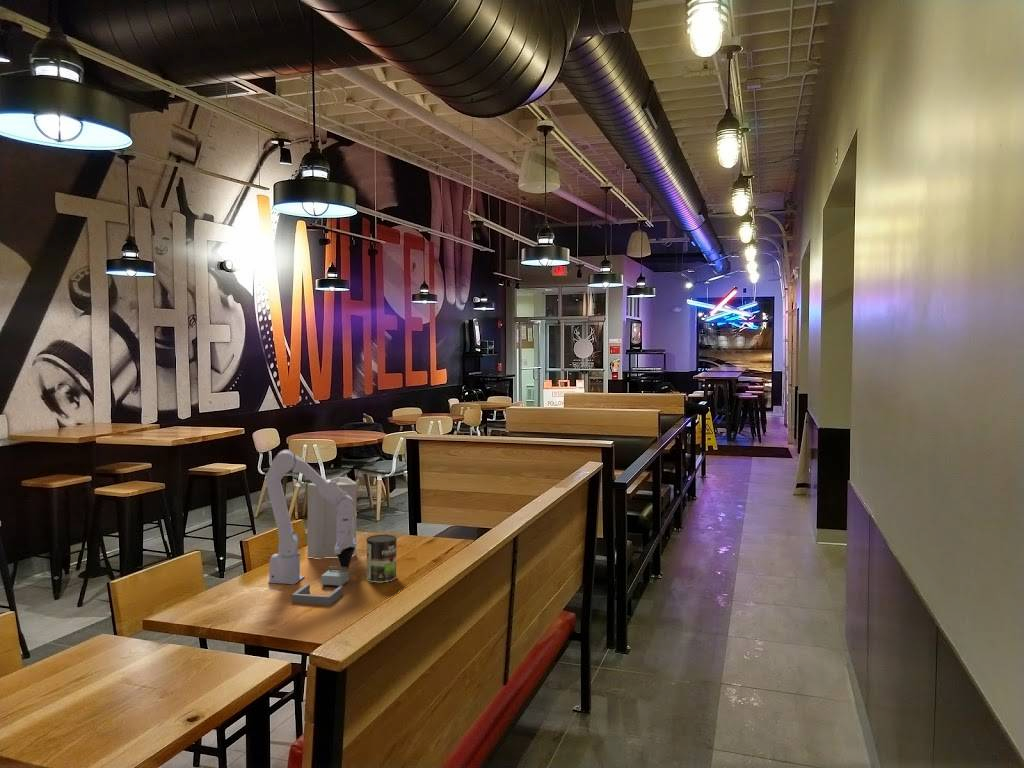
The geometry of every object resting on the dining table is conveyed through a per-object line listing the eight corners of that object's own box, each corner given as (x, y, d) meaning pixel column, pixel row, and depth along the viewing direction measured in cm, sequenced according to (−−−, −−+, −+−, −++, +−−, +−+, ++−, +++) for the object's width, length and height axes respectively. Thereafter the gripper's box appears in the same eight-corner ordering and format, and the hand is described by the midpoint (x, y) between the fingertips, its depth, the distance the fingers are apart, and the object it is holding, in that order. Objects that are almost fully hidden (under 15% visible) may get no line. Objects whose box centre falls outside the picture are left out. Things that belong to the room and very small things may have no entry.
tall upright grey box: (338, 563, 254) (338, 487, 253) (306, 558, 261) (306, 484, 260) (369, 550, 272) (369, 479, 271) (338, 545, 278) (339, 476, 277)
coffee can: (402, 578, 239) (403, 537, 238) (380, 585, 230) (380, 543, 230) (382, 572, 245) (382, 532, 244) (359, 579, 237) (360, 538, 236)
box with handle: (321, 586, 228) (321, 571, 228) (328, 581, 234) (328, 565, 234) (341, 588, 227) (341, 572, 227) (348, 582, 233) (348, 567, 233)
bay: (291, 602, 213) (291, 594, 213) (306, 591, 223) (306, 584, 223) (329, 605, 211) (329, 597, 211) (342, 594, 221) (342, 586, 221)
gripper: (348, 536, 231) (348, 576, 231) (363, 525, 245) (363, 563, 246) (328, 535, 232) (328, 575, 232) (344, 524, 246) (344, 562, 247)
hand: (345, 569), depth 239 cm, fingers closed
